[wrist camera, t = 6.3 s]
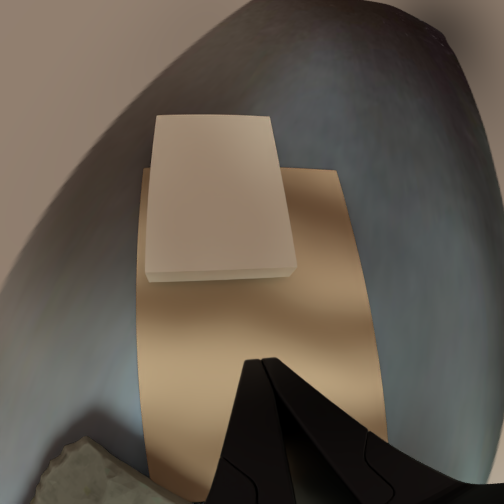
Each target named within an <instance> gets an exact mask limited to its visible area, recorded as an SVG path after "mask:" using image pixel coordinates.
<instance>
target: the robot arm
mask: <svg viewBox="0 0 504 504" xmlns="http://www.w3.org/2000/svg"><path fill="white" fill-rule="evenodd" d="M204 504H504V483H497V484H470V483H465V482H461V481H458V480H456V479H453V478H451V477H449V476H447V475H445V474H443V473H441V472H439V471H437V470H435V469H433V468H431V467H429V466H427V465H425V464H423V463H421V462H419V461H417V460H415V459H413V458H412V457H410V456H408V455H406V454H405V453H403V452H401V451H399V450H398V449H396V448H395V447H393V446H392V445H390V444H389V443H387V442H386V441H384V440H383V439H381V438H380V437H378V436H377V435H376V434H374V433H373V432H372V431H368V429H367V428H366V427H365V426H363V425H362V424H361V423H359V422H358V421H357V420H355V419H354V418H353V417H351V416H350V415H349V414H347V413H346V412H345V411H343V410H342V409H341V408H339V407H338V406H337V405H335V404H334V403H333V402H332V401H330V400H329V399H328V398H326V397H325V396H324V395H323V394H321V393H320V392H319V391H318V390H316V389H315V388H314V387H313V386H311V385H310V384H309V383H308V382H306V381H305V380H304V379H303V378H301V377H300V376H299V375H298V374H296V373H295V372H294V371H293V370H292V369H290V368H289V367H288V366H287V365H285V364H284V363H283V362H282V361H281V360H279V359H278V358H276V357H270V358H262V359H261V360H260V359H247V360H245V361H244V363H243V367H242V371H241V375H240V379H239V383H238V387H237V391H236V395H235V399H234V403H233V407H232V411H231V415H230V419H229V423H228V427H227V431H226V435H225V439H224V443H223V446H222V450H221V454H220V458H219V461H218V465H217V469H216V472H215V475H214V479H213V482H212V485H211V488H210V491H209V493H208V496H207V498H206V500H205V503H204Z"/></svg>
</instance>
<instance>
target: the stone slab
mask: <svg viewBox="0 0 504 504" xmlns="http://www.w3.org/2000/svg"><path fill="white" fill-rule="evenodd" d="M29 504H193V503H191V502H189V501H187V500H185V499H183V498H182V497H180V496H178V495H176V494H174V493H172V492H170V491H169V490H167V489H165V488H164V487H162V486H160V485H158V484H156V483H155V482H153V481H152V480H151V479H149V478H148V477H146V476H145V475H143V474H141V473H140V472H138V471H137V470H135V469H134V468H132V467H131V466H129V465H128V464H126V463H124V462H122V461H121V460H119V459H118V458H116V457H115V456H113V455H112V454H110V453H109V452H108V451H107V450H106V449H105V448H104V447H102V446H101V445H99V444H98V443H96V442H94V441H93V440H92V439H91V438H90V437H88V436H84V437H82V438H81V439H80V440H79V441H77V442H75V443H72V444H68V445H65V446H64V448H63V450H62V453H61V454H60V455H59V456H58V457H56V458H54V459H52V460H50V463H49V466H48V468H47V469H46V471H45V472H44V473H43V474H42V475H41V479H40V483H39V484H38V485H37V487H36V493H35V497H34V498H33V499H32V500H31V502H30V503H29Z"/></svg>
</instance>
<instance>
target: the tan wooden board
mask: <svg viewBox="0 0 504 504" xmlns="http://www.w3.org/2000/svg"><path fill="white" fill-rule="evenodd" d="M150 169H151V168H144V169H143V178H142V189H141V200H140V213H139V227H138V246H137V276H136V328H137V357H138V375H139V390H140V402H141V413H142V423H143V432H144V440H145V448H146V455H147V462H148V469H149V475H150V479H151V480H152V481H153V482H155V483H156V484H158V485H160V486H162V487H164V488H165V489H167V490H169V491H170V492H172V493H174V494H176V495H178V496H180V497H182V498H183V499H185V500H187V501H189V502H205V500H206V498H207V496H208V493H209V491H210V488H211V485H212V482H213V479H214V475H215V472H216V469H217V465H218V461H219V458H220V454H221V450H222V446H223V443H224V439H225V435H226V431H227V427H228V423H229V419H230V415H231V411H232V407H233V403H234V399H235V395H236V391H237V387H238V383H239V379H240V375H241V371H242V367H243V363H244V361H245V360H247V359H260V360H261V359H262V358H270V357H276V358H278V359H279V360H281V361H282V362H283V363H284V364H285V365H287V366H288V367H289V368H290V369H292V370H293V371H294V372H295V373H296V374H298V375H299V376H300V377H301V378H303V379H304V380H305V381H306V382H308V383H309V384H310V385H311V386H313V387H314V388H315V389H316V390H318V391H319V392H320V393H321V394H323V395H324V396H325V397H326V398H328V399H329V400H330V401H332V402H333V403H334V404H335V405H337V406H338V407H339V408H341V409H342V410H343V411H345V412H346V413H347V414H349V415H350V416H351V417H353V418H354V419H355V420H357V421H358V422H359V423H361V424H362V425H363V426H365V427H366V428H367V429H368V431H372V432H373V433H374V434H376V435H377V436H378V437H380V438H381V439H383V440H384V441H386V442H387V443H388V436H387V424H386V414H385V405H384V396H383V387H382V380H381V372H380V365H379V358H378V352H377V345H376V339H375V333H374V328H373V322H372V316H371V311H370V306H369V301H368V296H367V291H366V286H365V281H364V276H363V272H362V267H361V263H360V258H359V254H358V250H357V246H356V242H355V238H354V233H353V230H352V226H351V222H350V218H349V214H348V210H347V207H346V203H345V199H344V196H343V192H342V189H341V185H340V182H339V179H338V175H337V172H336V171H335V170H320V169H302V168H280V171H281V176H282V181H283V187H284V192H285V197H286V203H287V208H288V214H289V219H290V225H291V231H292V237H293V243H294V249H295V255H296V261H297V268H296V269H295V271H294V272H293V273H292V274H291V275H290V277H274V278H253V279H231V280H206V281H178V282H149V281H148V279H147V276H146V274H145V247H146V224H147V207H148V193H149V180H150Z"/></svg>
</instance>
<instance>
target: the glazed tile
mask: <svg viewBox="0 0 504 504" xmlns="http://www.w3.org/2000/svg"><path fill="white" fill-rule="evenodd" d="M296 268H297V261H296V255H295V249H294V243H293V237H292V231H291V225H290V219H289V214H288V208H287V203H286V197H285V192H284V187H283V181H282V176H281V171H280V166H279V160H278V155H277V150H276V145H275V140H274V136H273V131H272V126H271V121H270V117H265V116H246V115H157V117H156V125H155V133H154V141H153V150H152V159H151V169H150V180H149V193H148V207H147V224H146V247H145V274H146V276H147V279H148V281H149V282H178V281H206V280H231V279H253V278H274V277H290V275H291V274H292V273H293V272H294V271H295V269H296Z"/></svg>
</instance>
